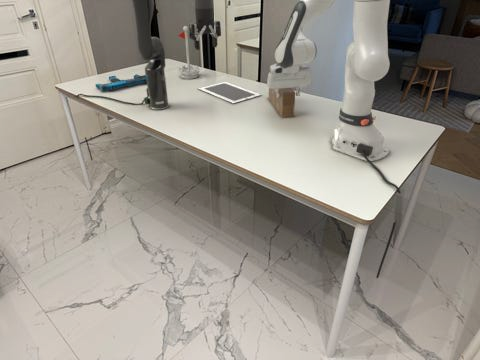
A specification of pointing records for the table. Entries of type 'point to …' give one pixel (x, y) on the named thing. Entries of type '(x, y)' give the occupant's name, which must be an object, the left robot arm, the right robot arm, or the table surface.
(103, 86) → the submachine gun
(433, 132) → the table surface
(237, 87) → the tablet
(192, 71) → the flag stand
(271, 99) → the box
